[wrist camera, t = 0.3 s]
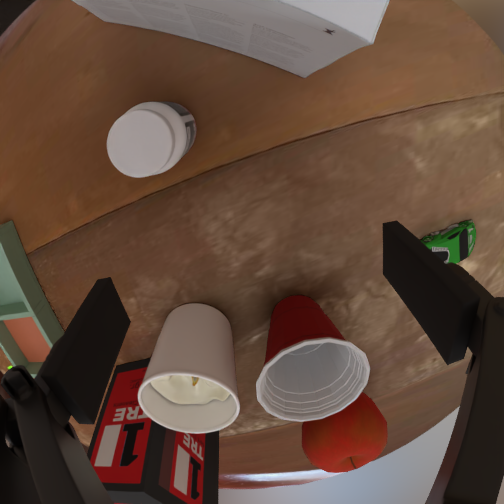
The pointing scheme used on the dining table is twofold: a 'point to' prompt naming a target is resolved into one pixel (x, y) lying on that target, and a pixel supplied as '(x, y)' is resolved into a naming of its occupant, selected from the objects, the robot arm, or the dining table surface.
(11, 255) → the divided tray
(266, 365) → the plastic cup
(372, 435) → the apple
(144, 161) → the pill bottle
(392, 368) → the dining table surface
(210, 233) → the dining table surface
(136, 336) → the dining table surface
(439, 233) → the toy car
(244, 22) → the skincare box
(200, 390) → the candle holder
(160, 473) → the cleaning product box
